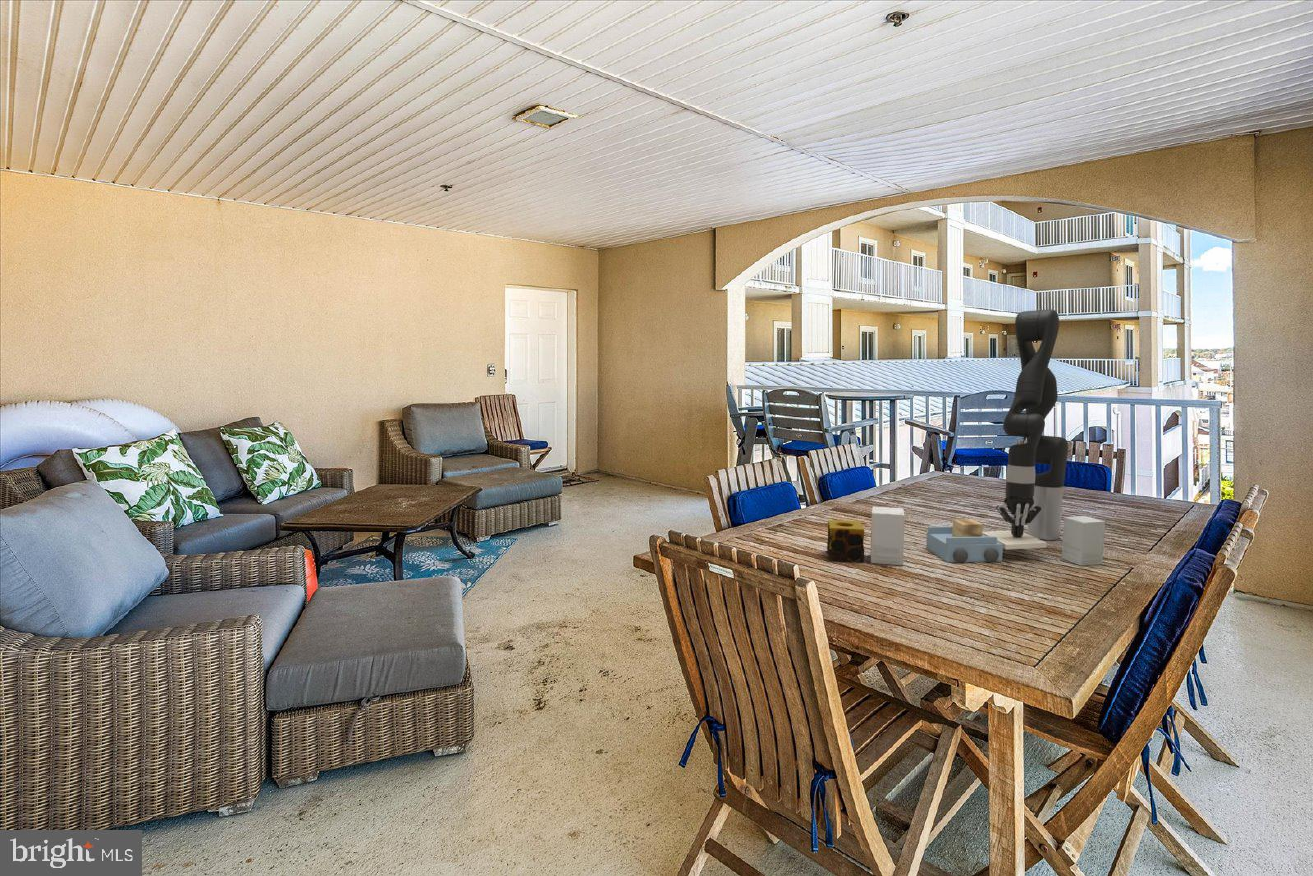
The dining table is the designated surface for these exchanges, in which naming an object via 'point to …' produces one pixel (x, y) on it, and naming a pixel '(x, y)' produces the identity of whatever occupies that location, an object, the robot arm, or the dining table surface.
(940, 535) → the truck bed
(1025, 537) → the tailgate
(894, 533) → the supplement box
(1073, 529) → the supplement box
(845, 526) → the yellow spotted cube
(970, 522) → the wooden block
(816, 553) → the dining table surface
